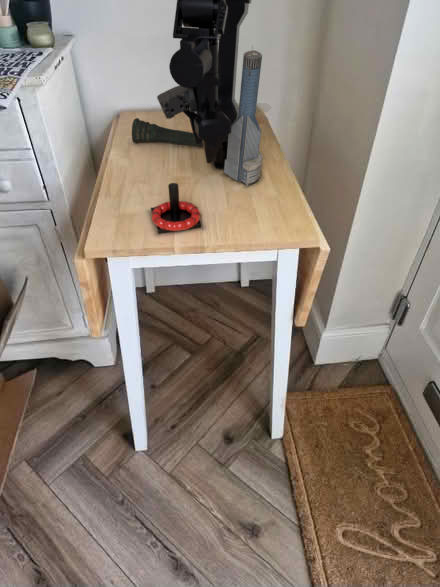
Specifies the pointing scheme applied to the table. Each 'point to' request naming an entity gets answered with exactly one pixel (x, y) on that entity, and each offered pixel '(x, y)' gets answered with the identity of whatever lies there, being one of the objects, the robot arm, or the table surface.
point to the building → (246, 127)
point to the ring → (180, 224)
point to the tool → (160, 134)
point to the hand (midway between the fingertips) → (203, 152)
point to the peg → (174, 210)
